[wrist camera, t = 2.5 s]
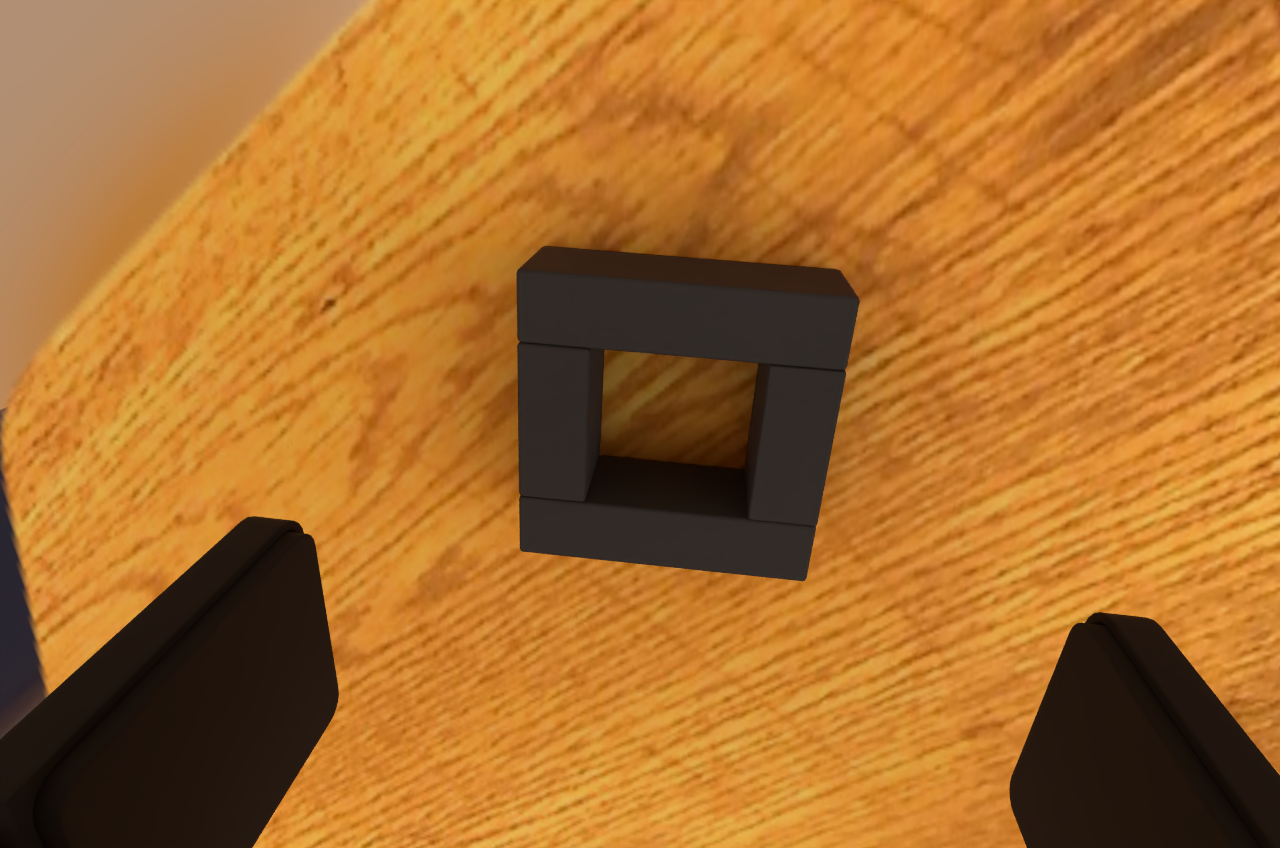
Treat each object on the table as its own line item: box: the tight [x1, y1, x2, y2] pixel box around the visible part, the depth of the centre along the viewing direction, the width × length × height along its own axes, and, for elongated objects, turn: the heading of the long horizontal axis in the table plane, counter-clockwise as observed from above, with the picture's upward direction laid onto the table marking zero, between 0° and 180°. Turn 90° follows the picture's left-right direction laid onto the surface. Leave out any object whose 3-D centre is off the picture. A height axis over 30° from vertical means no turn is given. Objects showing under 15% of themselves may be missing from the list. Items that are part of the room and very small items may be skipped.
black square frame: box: [517, 246, 859, 581], centre depth 16 cm, size 7×7×2 cm
